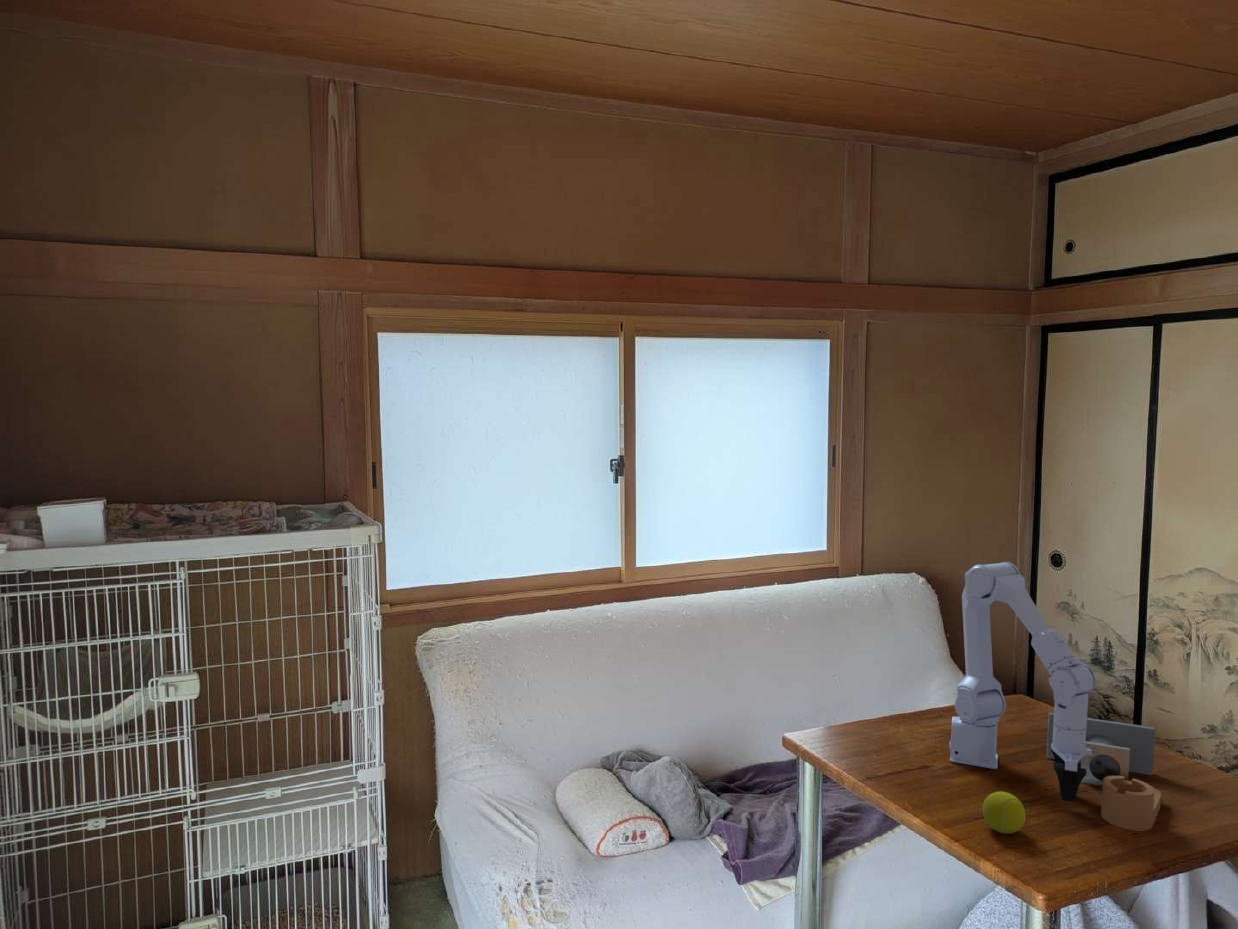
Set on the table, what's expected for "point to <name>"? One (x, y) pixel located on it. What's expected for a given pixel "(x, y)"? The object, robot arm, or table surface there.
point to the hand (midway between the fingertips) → (1066, 792)
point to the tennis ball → (1003, 812)
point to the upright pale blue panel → (1113, 749)
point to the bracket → (1129, 803)
